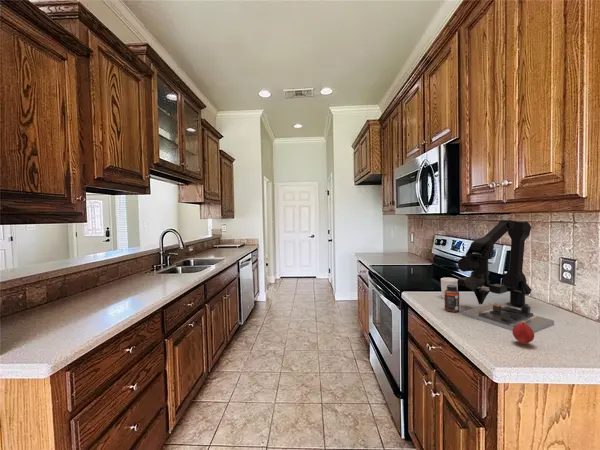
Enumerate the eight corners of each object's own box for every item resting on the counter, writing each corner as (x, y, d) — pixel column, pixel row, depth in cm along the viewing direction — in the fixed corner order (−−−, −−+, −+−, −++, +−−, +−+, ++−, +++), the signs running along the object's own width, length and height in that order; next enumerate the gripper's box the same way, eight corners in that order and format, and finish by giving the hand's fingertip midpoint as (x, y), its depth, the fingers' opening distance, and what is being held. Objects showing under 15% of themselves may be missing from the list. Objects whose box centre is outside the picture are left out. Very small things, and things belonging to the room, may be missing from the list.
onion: (508, 341, 99) (508, 318, 99) (523, 340, 99) (523, 317, 99) (522, 349, 93) (522, 324, 93) (538, 347, 94) (539, 323, 93)
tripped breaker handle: (495, 309, 123) (495, 303, 123) (501, 311, 121) (501, 305, 120) (492, 310, 122) (492, 304, 122) (498, 311, 120) (498, 305, 120)
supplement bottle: (461, 312, 127) (461, 287, 126) (446, 312, 128) (446, 287, 127) (456, 308, 133) (456, 284, 132) (442, 307, 134) (442, 284, 133)
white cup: (442, 295, 153) (442, 276, 153) (458, 297, 149) (458, 278, 148) (439, 299, 147) (439, 280, 146) (456, 301, 142) (456, 281, 142)
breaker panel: (490, 306, 133) (490, 296, 133) (554, 324, 112) (554, 311, 112) (463, 314, 124) (463, 303, 124) (526, 335, 103) (527, 321, 103)
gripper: (449, 268, 131) (449, 301, 132) (492, 275, 115) (491, 313, 115) (464, 265, 136) (464, 297, 137) (507, 272, 120) (507, 309, 120)
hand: (480, 304), depth 127 cm, fingers closed
